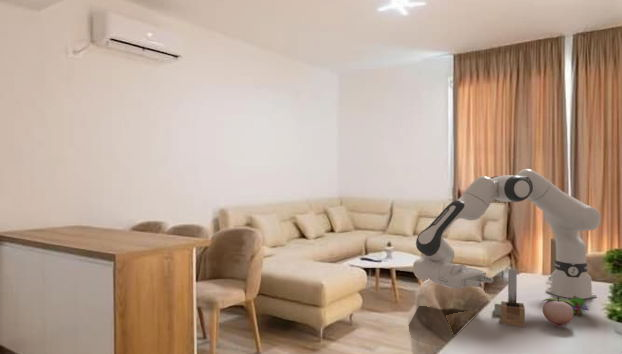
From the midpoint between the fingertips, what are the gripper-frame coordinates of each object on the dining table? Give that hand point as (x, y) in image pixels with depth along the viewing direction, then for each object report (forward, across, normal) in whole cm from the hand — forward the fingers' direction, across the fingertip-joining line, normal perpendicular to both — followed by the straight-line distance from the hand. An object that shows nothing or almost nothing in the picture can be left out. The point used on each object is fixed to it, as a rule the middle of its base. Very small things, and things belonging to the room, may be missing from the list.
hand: (486, 282), depth 156 cm
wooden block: (-2, +84, +12) cm, 85 cm away
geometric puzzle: (+21, +27, +12) cm, 36 cm away
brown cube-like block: (+10, 0, +12) cm, 15 cm away
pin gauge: (+9, 0, +10) cm, 14 cm away
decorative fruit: (+21, +8, +12) cm, 26 cm away
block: (+3, +8, +12) cm, 15 cm away
